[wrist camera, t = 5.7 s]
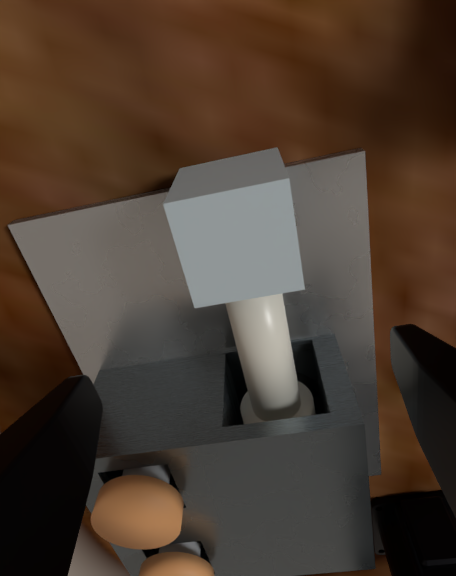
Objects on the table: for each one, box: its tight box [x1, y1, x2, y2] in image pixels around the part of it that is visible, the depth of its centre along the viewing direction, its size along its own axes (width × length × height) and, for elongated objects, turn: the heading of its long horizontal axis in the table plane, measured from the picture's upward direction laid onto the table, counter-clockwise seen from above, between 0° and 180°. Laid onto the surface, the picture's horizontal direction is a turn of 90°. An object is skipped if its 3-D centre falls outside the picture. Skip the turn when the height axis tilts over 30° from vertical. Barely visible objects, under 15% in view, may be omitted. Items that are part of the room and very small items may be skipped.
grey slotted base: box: [8, 148, 381, 576], centre depth 21 cm, size 21×16×7 cm
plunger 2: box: [139, 541, 214, 576], centre depth 22 cm, size 4×4×4 cm
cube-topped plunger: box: [163, 148, 316, 424], centre depth 20 cm, size 20×4×4 cm, turn 12°
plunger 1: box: [91, 464, 184, 549], centre depth 20 cm, size 4×4×4 cm
